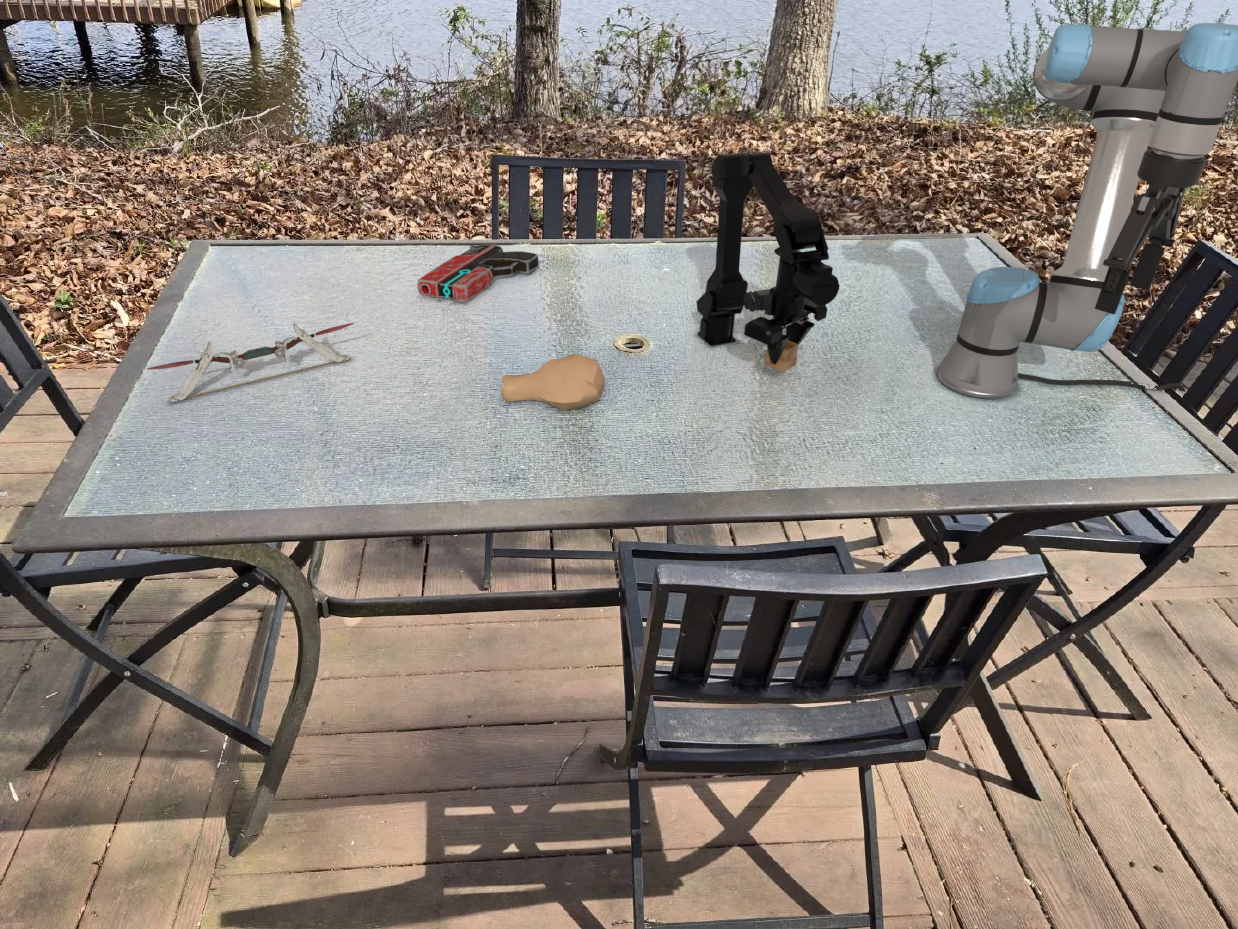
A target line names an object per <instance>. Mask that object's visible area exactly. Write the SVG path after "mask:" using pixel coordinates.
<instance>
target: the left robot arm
mask: <svg viewBox="0 0 1238 929" xmlns="http://www.w3.org/2000/svg"><path fill="white" fill-rule="evenodd" d="M710 171H711V172H710V173H711V181H712V187H713V189H714V191H715V192H716V194H717V196H718V199H719V202H718V203H719V205H718V220H717V221H718V222H717V238H716V254H715V266H714V267H715V268H714V270H713V272H712V273H711V274H710V276H709V277H708V279H707V281H706V287H705V291H704V293H703V294H702V295H701V296H700V297H699V299H697V300H696V311H697V312H698V313H699V314H700V315H701V316H702V318H700V322H699V331H698V332H697V336H698V337H700V339H701V340H703V341H704V342H705V343H707V345H708V346H711V347H714V346H720V345H724V344H731V343H735V342H737V338H735V336H734V327H735V317H736V315H739V314H740V315H741V314H742V312H743V309H744V308H745V310H748V311H749V312H750V313H754V312H755V311H757V312H758V311H764V315H767V316H772V318H771V319H769V318H765V317H763V316H760V315H759V316H758V317H756V318H754V319H751V320H750V321H748V322H746V323H745V324H744V331H743V335H744V336H746V337H747V338H750V339H752V340H755V341H757V342H760V343H761V344H764V345H766V349H767V348H768V352H769V356H770V360H771V363H773V364H777V362H778V360H779V358H780V356H781V354H782V352H783V350H784V348H785V346H786V343H787V341H788V340H789V341H791V342H794V343H796V344H799V345H800V344H801V343H802V341H803V340H804V339H805V337H806V336H807V335H808V334H809V332H810V331H811V330H812V328H813V327H815V323H814V322H812V321H810V317H809V315H810V314H813V315H814V316H813V318H814V320H815V321H817V322H820V321H822V320H824V319H826V318H827V315H828V307H827V305H828V304H831V303H832V301H834V299H835V298H836V297H837V295H838V293H839V291H840V286H841V285H840V283H839V282H840V281H839V279H838V277H837V276H836V275H834V274H833V271H834V268H833V267H832V266H831V265H829V264H826V263H824V262H822V261H828V260H829V259H830V256H829V251H828V250H829V246H828V243H827V240H826V236H825V233H824V228H823V225H822V222H821V220H820V218H819V217H818V216H817V215H816V214H815V213H814V212H813V211H812V210H811V209H810V208H809V207H806V206H805V205H803V204H801V203H799V202H798V201H797V200H796V198H795V197H794V195H793V193H792V192H791V191H790V188H788V186H787V184H786V183H785V181H784V180H783V178H782V176H781V175H780V173H779V171H778V170H777V169H776V167H775V165H774V164H773V158H772V156H771V154H770V153H767V152H765V151H763V152H751V153H750V152H745V151H744V152H735V153H734V152H733V153H723V154H719V155H717V156H716V157H715V159H713V161H712V164H711V169H710ZM753 188H754V189H755V191H756V192H757V194H758V196H759V198H760V199H761V201H762V202H763V204H764V206H765V208H766V209H767V210H768V213H769V215H770V216H771V217H772V220H773V227H772V232H773V235H774V238H775V239H776V242H777V244H778V247H776V248H775V249H774V251H773V252H774V254H775V255H777V256H778V257H779V259H778V268H777V276H776V282H775V286H773V287H771V288H767V289H765V288H764V289H759V290H754V291H752V290H749V291H748V285H749V284H748V281H747V280H746V279H744V277H743V274H742V273H741V271H740V264H741V263H740V262H741V252H742V250H741V248H742V238H743V236H742V235H743V225H744V224H743V222H744V209H745V200H746V199H747V198H748V195H749V194H750V192H751V191H752V190H753ZM814 248H815V249H814ZM807 249H814V250H807ZM801 250H807V251H801Z"/></svg>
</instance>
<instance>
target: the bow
mask: <svg viewBox="0 0 1238 929" xmlns="http://www.w3.org/2000/svg"><path fill="white" fill-rule="evenodd" d="M354 324H355V322H351V323H346V324H342V325H337V326H333V327H329V328H326V329H323V330H319V331H316V332H315V333H311V334H309V333H308V332H307V331H305V330H304V329H302V328H300V327H299V326H298V324H297V323H295V322H293V323H292V326H293V330H294V333H295V335H297V337H296V336H288V337H286V338H285V339H284V340H282V341H280V340H279V341H277V340H275V341H274V345H275V346H272V347H270V346H262V347H258V348H253V349H249V350H246V351H245V352H243V353H242V354H239V353H237V351H236V350H235V349H233V350H232V351H230V352H224V351H221V352H217V353H214V346H213V343H212V342H211V341H207V344H206V347H205V349H204V351H203V352H202V353H201V354H200V358H199V359H194V360H193V359H192V360H191V359H189V360H183V361H175V362H170V363H169V362H168V363H165V364H161V365H160V364H159V365H156V366H152V367H151V366H150V367H147V368H146V370H147V371H150V370H151V371H152V370H163V369H172V368H177V367H182V366H187V365H192V364H196V367H195V369H193V370H192V371H191V373H190V374H189V376H188V377H187V378H186V379H185V381H184V383H183V385H182V387H181V390H180V391H178V392H177V393H175V394H172V395H171V396H169V397H168V399H169V402H172V403H175V402H180V401H184V400H185V399H187V398H191V397H195V396H199V395H200V396H201V395H204V394H207V393H212V392H217V391H220V390H224V389H230V388H233V387H237V386H241V385H246V384H250V383H253V382H258V381H261V380H262V381H263V380H266V379H271V378H274V377H279V376H283V375H286V374H292V373H295V372H301V371H303V370H308V369H312V368H316V367H320V366H325V365H329V364H332V363H342V362H346V361H349V359H350V356H349V354H336V353H335V352H334V351H333V350H332V349H331V348H329V347H328V346H327V345H325V344H323V343H321V342H319V341H316V340H315V339H313V338H315V337H317V336H322V335H325V334H326V335H327V334H331V333H334V332H336V331H339V330H343V329H345V328H347V327H350V326H353V325H354ZM299 343H300V344H304V345H306V346H308V347H309V348H311V349H313V350H315V352H317V353H319V354H320V355H322V356H323V357H325V358H327V359H329V360H331V361H329V362H326V363H321V364H317V365H313V366H308V367H305V368H300V369H296V370H292V371H287V372H283V373H279V374H275V375H272V376H271V375H270V376H267V377H262V378H259V379H254V380H251V381H245V382H242V383H238V384H234V385H230V386H225V387H221V388H217V389H213V390H208V391H205V392H199V393H195V394H192V395H191V393H192V392H193V391H194V390H195V387H196V386H197V384H198V382H199V381H200V379H201V378H202V376H203V375H204V373H205V372H206V371H207V369H209V367H210V366H211V364H212V363H213V362H215V363H222V364H229V373H230V374H231V375H236V374H237V372H236V371H237V370H236V368H241V367H243V366H244V364H245V361H247V360H252V359H257V358H261V357H265V356H270V355H274V356H275V357H276V358H277V359H278V358H279V359H280V358H282V357H283V358H284V360H285V362H291V361H292V360H291V358H290V355H289V354H288V350H290V349H292V348H294V347H295V346H296V345H298V344H299Z"/></svg>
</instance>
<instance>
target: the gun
mask: <svg viewBox="0 0 1238 929" xmlns="http://www.w3.org/2000/svg"><path fill="white" fill-rule="evenodd" d="M539 266H540V265H539V254H537V253H534V252H529V251H521V250H519V251H518V250H517V251H504V249H503V247H502V246H501V245H498V244H496V243H492V244H487V243H484V244H480V245H474V244H470V245H469V249H467V250H466V251H464V252H462V253H461V254H459V255H454V256H452V257H451V258H449V259H448V260H446V261H444V262H442V263H441V264H440V265H438V266H437V267H435V268H433V269H431V270H430V271H428V272H427V273H426V274H424V275H422V276H421V277H420V278H418V279H417V285H416V286H417V287H416V288H417V291H418V294H419V295H421V296H426V297H430V298H445V299H452V300H453V301H454V302H457V303H458V302H459V303H466V302H469V301H470V300H472V299H473V298H474V297H476V296H477V295H479V294H480V293H482V292H483V291H485V290H486V289H488V288H489V287H491V286H492V283H493V280H494V278H501V277H502V278H503V277H509V276H514V275H515V274H516V273H522V274H527V275H529V274H530V273H532V272H533V271H535V270H537V269H539Z"/></svg>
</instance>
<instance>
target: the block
mask: <svg viewBox="0 0 1238 929" xmlns="http://www.w3.org/2000/svg"><path fill="white" fill-rule="evenodd" d="M799 346H800V344H796V343H794V342H791V341H789V340H788V341H787V343H786V346H785V348H784V350H783V352H782V354H781V356H780V358H779V360H778V362H777V364H773V363H771V360H770V356H769V352H768V348H767V347H766V353H765V354H766V355H765V361H764V362H765V363H764V364H765V366H768V367H771V368H772V369H775V370H777V371H780V372H782V373H785V371H787V370H789V369H791V368H793V367H795V366H796V365H797V360H798V353H799V348H800V347H799Z"/></svg>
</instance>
